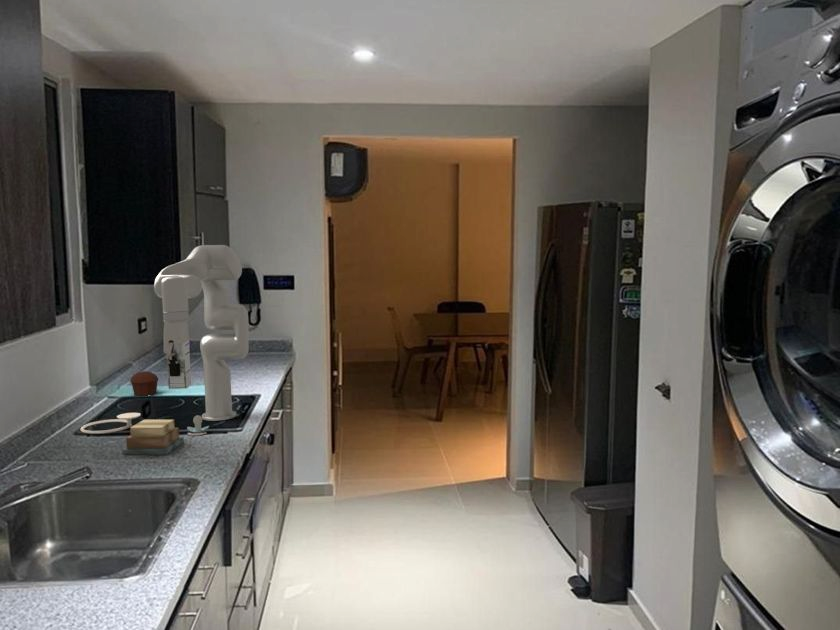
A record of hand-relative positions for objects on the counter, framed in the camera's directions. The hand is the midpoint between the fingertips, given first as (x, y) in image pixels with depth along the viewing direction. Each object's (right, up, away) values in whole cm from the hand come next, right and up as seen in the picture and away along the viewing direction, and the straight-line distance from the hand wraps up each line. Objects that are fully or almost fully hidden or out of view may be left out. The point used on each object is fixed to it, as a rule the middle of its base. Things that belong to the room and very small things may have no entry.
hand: (179, 373), depth 221 cm
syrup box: (0, -4, +1) cm, 5 cm away
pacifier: (-2, -23, +23) cm, 33 cm away
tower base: (-11, -25, +7) cm, 28 cm away
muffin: (-44, -17, +86) cm, 98 cm away
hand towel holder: (-36, -23, +33) cm, 54 cm away
